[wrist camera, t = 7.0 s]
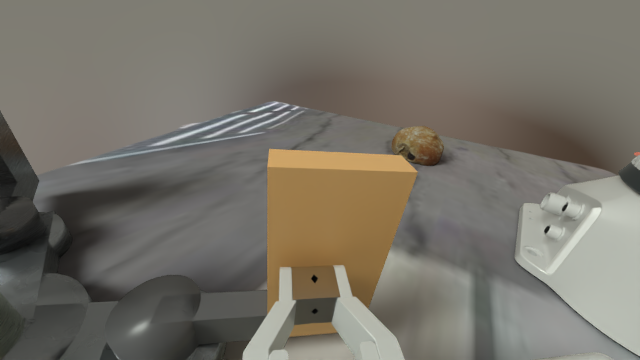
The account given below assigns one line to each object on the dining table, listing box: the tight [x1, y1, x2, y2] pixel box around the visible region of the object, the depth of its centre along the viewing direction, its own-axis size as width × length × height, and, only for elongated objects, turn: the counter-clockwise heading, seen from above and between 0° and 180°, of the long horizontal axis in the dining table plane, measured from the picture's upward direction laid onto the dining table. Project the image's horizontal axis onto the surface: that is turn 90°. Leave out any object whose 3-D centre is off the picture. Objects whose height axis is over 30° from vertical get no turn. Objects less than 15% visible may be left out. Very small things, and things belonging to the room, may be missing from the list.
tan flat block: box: [105, 149, 418, 360], centre depth 12 cm, size 14×4×12 cm, turn 98°
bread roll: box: [392, 126, 444, 166], centre depth 49 cm, size 10×10×8 cm
